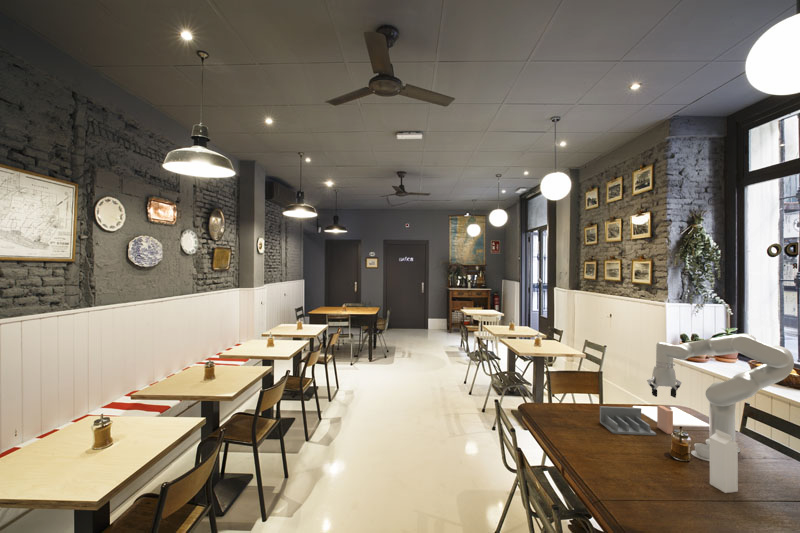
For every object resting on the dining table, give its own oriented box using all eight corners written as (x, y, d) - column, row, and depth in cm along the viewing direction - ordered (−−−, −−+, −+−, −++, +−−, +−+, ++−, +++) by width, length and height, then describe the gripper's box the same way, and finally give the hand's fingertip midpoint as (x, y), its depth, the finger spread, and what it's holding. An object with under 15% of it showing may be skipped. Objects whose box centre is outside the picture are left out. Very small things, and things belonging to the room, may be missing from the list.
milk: (721, 483, 144) (721, 428, 144) (738, 492, 138) (738, 435, 138) (709, 484, 143) (709, 429, 143) (725, 493, 137) (725, 435, 137)
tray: (631, 407, 227) (631, 405, 227) (675, 408, 226) (675, 406, 226) (661, 426, 199) (661, 423, 199) (712, 428, 198) (712, 425, 198)
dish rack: (656, 435, 186) (656, 417, 186) (612, 433, 188) (612, 416, 188) (639, 424, 200) (639, 407, 200) (599, 422, 202) (599, 406, 202)
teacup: (724, 463, 159) (724, 453, 159) (699, 461, 161) (699, 450, 161) (709, 452, 169) (709, 442, 169) (685, 450, 171) (685, 440, 171)
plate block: (673, 433, 188) (672, 411, 188) (667, 433, 188) (667, 411, 189) (662, 427, 196) (662, 405, 196) (657, 427, 196) (657, 405, 197)
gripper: (676, 364, 196) (675, 394, 196) (643, 362, 198) (643, 393, 197) (686, 367, 189) (685, 399, 189) (652, 366, 190) (651, 398, 190)
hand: (663, 396), depth 193 cm, fingers open, 9 cm apart
